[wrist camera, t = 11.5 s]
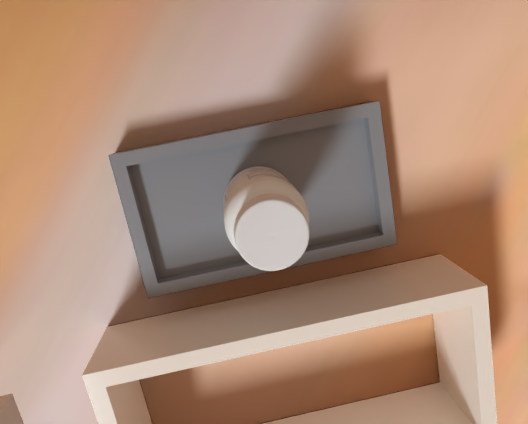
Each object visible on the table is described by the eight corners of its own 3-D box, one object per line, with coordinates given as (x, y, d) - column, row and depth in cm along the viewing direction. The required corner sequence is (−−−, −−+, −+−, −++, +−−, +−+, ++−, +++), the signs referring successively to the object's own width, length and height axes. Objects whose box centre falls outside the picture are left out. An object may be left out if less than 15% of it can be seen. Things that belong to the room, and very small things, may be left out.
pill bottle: (257, 248, 28) (270, 299, 21) (208, 200, 27) (204, 236, 20) (308, 201, 28) (340, 236, 20) (260, 150, 27) (275, 167, 19)
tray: (152, 287, 29) (148, 298, 28) (115, 152, 27) (108, 155, 25) (388, 237, 30) (397, 244, 28) (370, 101, 28) (379, 101, 26)
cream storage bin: (149, 462, 32) (134, 532, 27) (107, 326, 29) (81, 375, 24) (454, 390, 33) (498, 445, 28) (440, 254, 31) (487, 285, 25)
